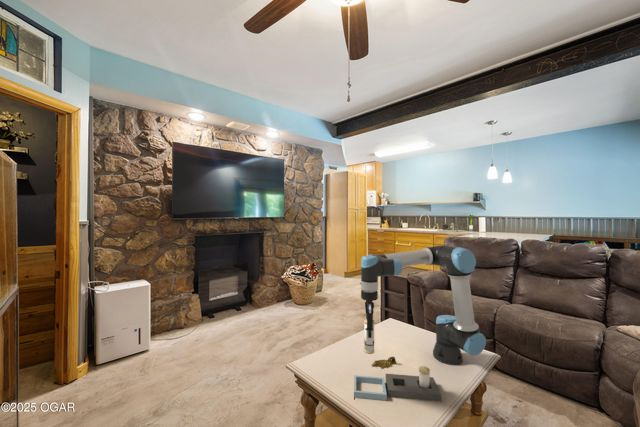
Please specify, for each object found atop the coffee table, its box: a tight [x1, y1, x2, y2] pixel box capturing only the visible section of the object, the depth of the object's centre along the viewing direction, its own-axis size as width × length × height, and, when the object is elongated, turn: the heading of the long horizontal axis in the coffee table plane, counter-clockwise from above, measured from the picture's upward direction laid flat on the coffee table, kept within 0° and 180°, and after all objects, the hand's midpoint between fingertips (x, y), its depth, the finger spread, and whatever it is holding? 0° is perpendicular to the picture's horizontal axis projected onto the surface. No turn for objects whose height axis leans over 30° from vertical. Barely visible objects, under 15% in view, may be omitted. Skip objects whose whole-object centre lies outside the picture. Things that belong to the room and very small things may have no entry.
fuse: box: [418, 365, 431, 389], centre depth 120 cm, size 5×5×10 cm
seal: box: [371, 356, 397, 370], centre depth 141 cm, size 9×5×15 cm
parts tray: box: [353, 375, 388, 401], centre depth 121 cm, size 14×12×3 cm
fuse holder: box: [385, 373, 442, 403], centre depth 120 cm, size 22×12×4 cm, turn 82°
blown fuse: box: [363, 318, 375, 355], centre depth 121 cm, size 5×5×14 cm
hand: (369, 341), depth 121 cm, fingers closed on blown fuse, 4 cm apart
